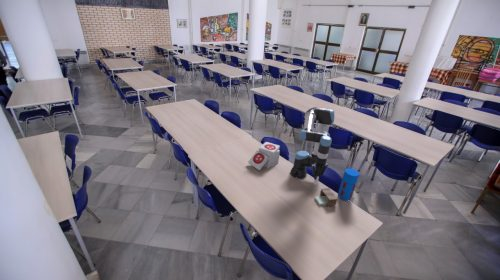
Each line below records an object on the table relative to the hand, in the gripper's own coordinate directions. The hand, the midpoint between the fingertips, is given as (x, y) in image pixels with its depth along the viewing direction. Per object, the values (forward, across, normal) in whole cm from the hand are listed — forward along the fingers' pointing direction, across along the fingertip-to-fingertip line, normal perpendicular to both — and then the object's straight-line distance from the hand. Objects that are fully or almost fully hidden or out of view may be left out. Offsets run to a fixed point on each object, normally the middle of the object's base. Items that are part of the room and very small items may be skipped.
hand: (315, 182), depth 182 cm
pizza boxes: (+20, -23, +58) cm, 65 cm away
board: (+20, +10, -1) cm, 23 cm away
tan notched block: (+20, +14, -1) cm, 24 cm away
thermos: (+20, +31, +1) cm, 37 cm away
